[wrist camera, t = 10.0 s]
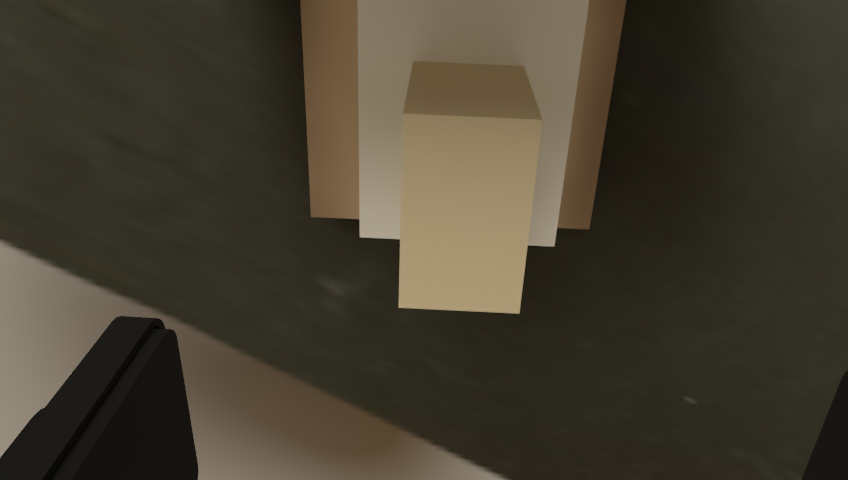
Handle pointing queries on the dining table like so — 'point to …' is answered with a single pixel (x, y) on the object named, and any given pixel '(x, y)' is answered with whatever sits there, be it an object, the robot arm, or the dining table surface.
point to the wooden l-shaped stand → (339, 116)
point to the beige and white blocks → (465, 140)
